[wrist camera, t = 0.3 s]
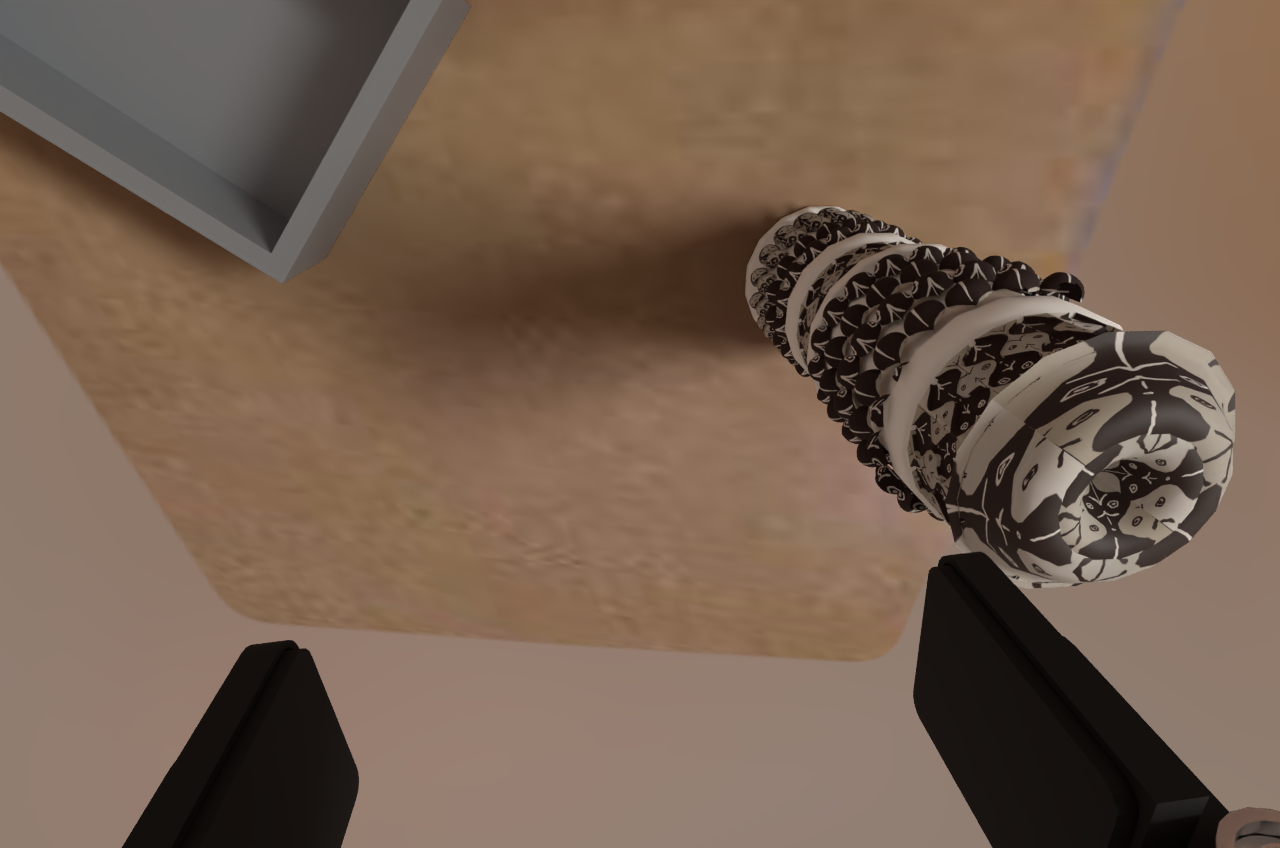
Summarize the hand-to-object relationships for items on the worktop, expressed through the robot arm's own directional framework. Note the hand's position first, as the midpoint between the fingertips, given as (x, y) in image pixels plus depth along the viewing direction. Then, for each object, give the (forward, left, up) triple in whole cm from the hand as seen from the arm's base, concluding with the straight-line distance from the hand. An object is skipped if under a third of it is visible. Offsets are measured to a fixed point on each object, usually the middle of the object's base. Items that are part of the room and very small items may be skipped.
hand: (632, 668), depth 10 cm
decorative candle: (-7, +11, -31) cm, 34 cm away
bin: (+1, -21, -31) cm, 37 cm away
